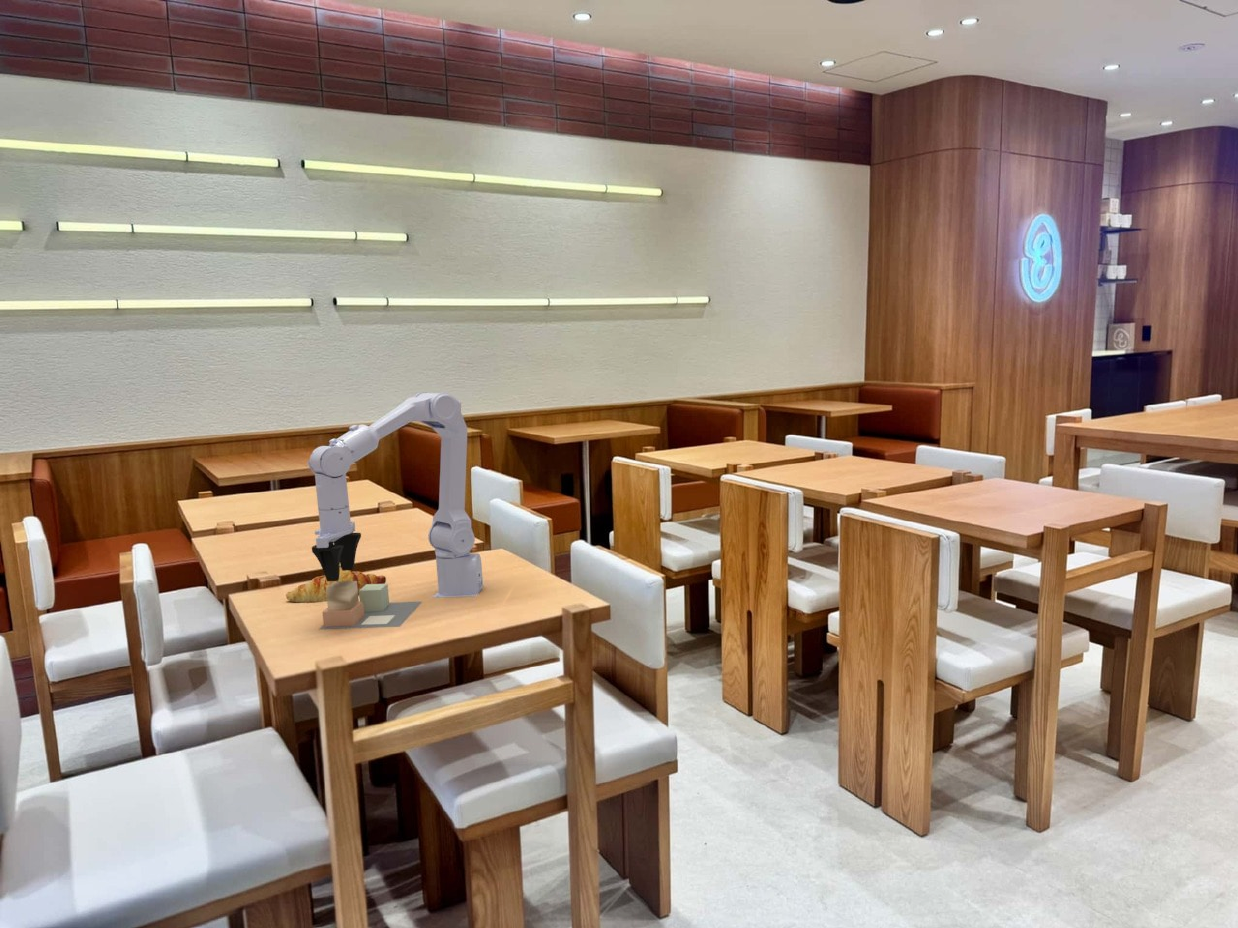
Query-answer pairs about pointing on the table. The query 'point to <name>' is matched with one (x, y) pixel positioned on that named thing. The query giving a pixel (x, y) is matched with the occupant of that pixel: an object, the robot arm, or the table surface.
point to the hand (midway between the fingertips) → (340, 575)
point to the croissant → (318, 585)
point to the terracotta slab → (343, 616)
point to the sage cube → (374, 597)
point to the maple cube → (342, 595)
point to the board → (384, 616)
